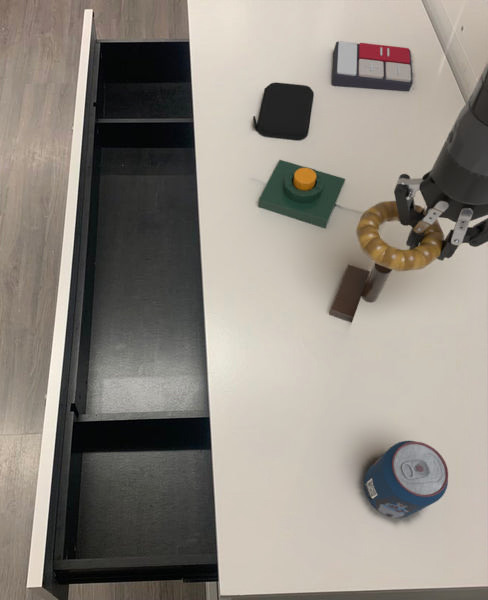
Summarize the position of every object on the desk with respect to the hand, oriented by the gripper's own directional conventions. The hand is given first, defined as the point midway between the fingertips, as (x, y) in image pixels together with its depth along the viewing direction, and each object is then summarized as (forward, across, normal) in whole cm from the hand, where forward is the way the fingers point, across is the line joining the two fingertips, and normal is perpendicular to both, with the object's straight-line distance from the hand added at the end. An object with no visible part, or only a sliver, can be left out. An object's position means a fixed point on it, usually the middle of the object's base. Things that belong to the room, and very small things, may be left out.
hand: (426, 250), depth 67 cm
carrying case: (+16, +30, -34) cm, 48 cm away
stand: (+15, +4, 0) cm, 16 cm away
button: (+12, +20, -16) cm, 28 cm away
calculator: (+16, +18, -52) cm, 57 cm away
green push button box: (+15, +20, -16) cm, 30 cm away
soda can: (+16, -6, +26) cm, 31 cm away
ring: (-1, +4, 0) cm, 4 cm away
